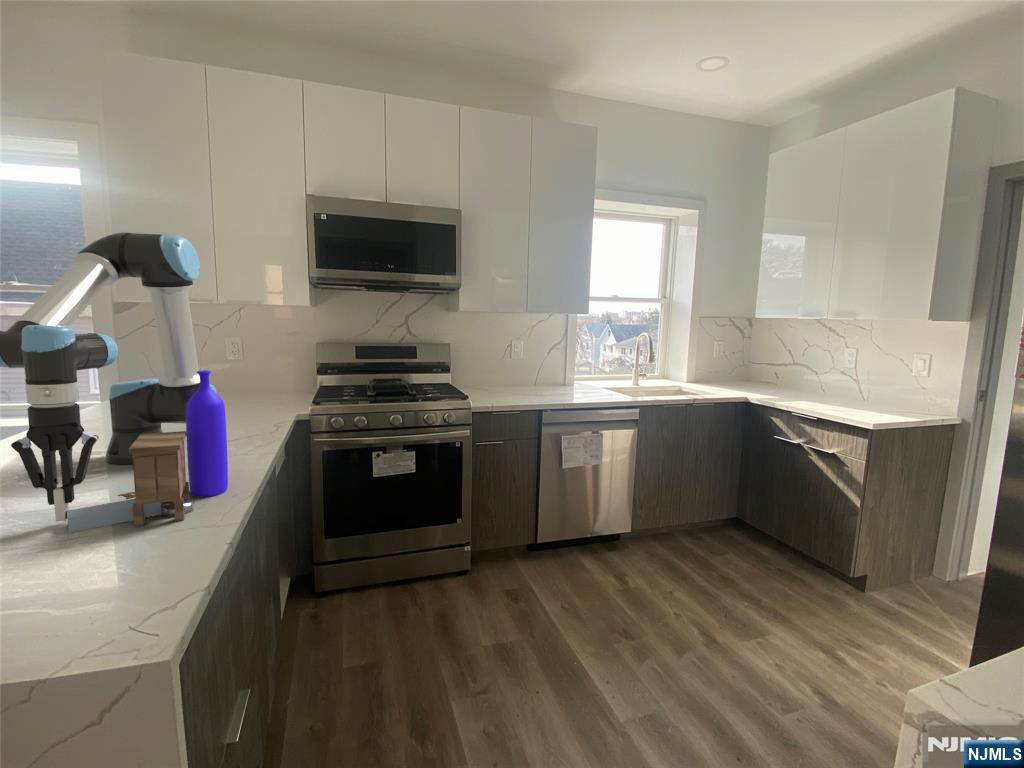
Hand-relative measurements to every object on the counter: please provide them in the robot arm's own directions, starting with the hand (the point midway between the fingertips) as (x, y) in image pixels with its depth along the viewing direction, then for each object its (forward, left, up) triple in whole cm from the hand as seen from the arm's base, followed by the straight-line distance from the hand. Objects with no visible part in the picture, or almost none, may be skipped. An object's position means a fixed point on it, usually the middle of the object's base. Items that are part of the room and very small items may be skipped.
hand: (62, 518), depth 100 cm
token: (0, +19, -2) cm, 19 cm away
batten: (0, +9, -1) cm, 9 cm away
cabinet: (0, +17, -1) cm, 17 cm away
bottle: (-11, +25, -2) cm, 27 cm away
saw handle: (-18, +18, -2) cm, 25 cm away
